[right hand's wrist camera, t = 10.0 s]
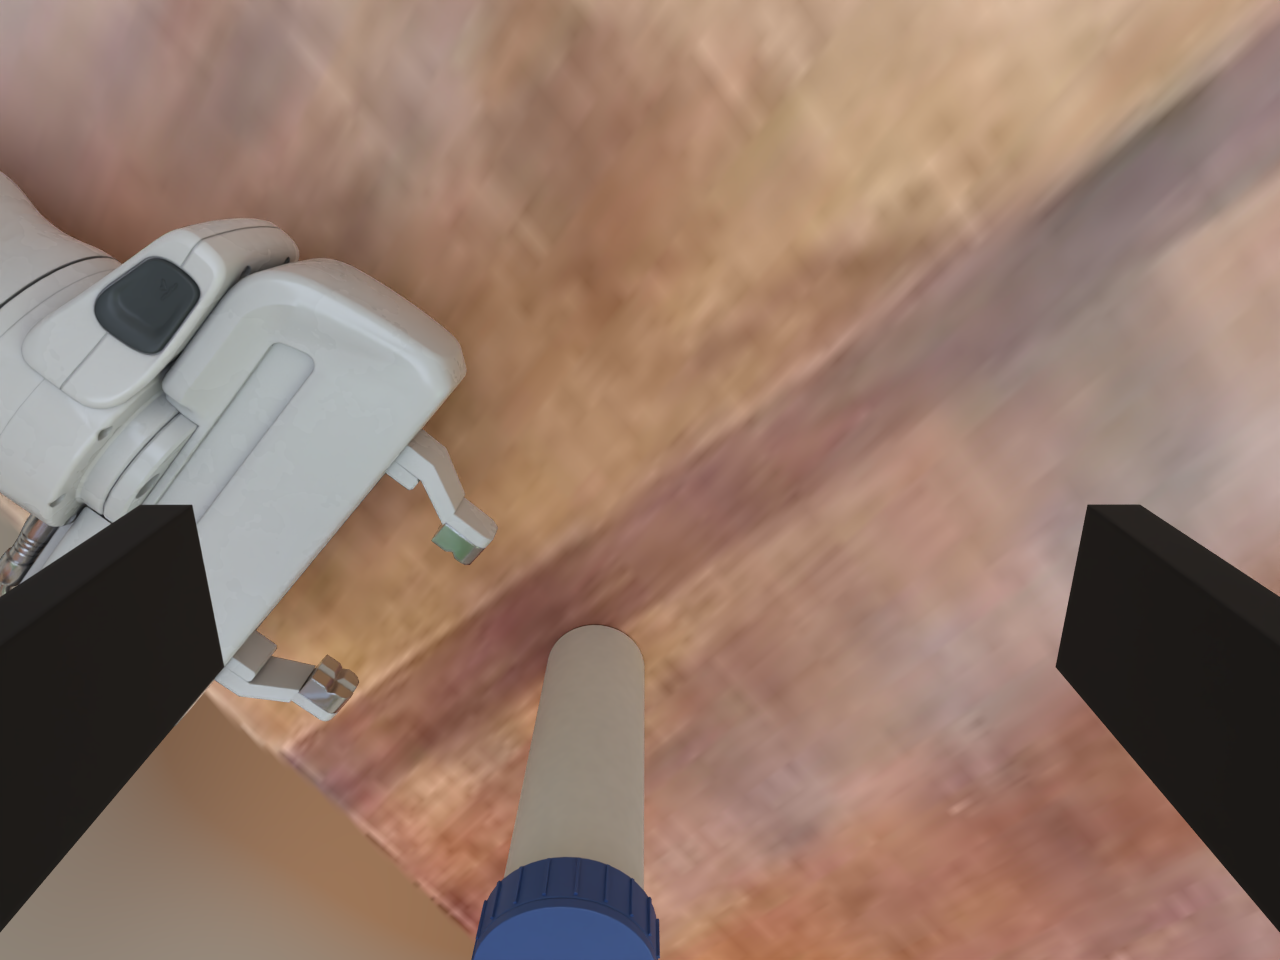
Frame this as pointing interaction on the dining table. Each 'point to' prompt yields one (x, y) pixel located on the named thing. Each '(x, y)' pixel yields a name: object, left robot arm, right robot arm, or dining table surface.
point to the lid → (567, 915)
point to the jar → (586, 757)
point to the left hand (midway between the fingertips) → (412, 626)
